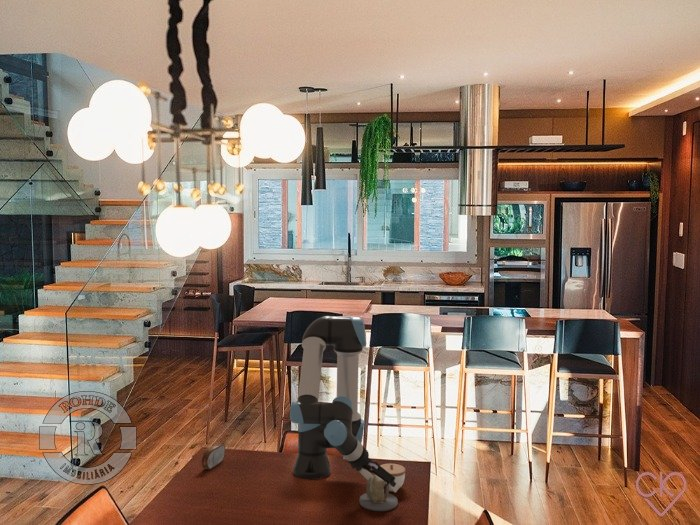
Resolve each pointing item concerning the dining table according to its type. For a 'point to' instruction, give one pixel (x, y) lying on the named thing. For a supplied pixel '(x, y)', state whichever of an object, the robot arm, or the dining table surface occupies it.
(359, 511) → the dining table surface
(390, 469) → the lidded jar
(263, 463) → the dining table surface
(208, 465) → the tin
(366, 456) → the robot arm
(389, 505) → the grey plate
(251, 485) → the dining table surface
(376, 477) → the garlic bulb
